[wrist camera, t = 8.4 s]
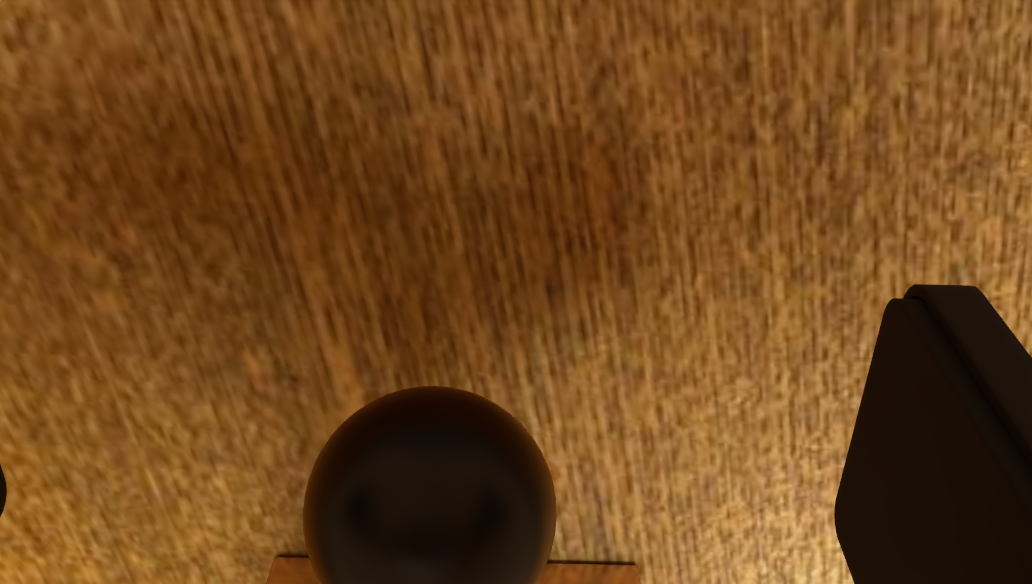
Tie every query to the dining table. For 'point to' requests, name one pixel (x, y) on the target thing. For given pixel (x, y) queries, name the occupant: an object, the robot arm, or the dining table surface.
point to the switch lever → (430, 495)
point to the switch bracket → (297, 580)
